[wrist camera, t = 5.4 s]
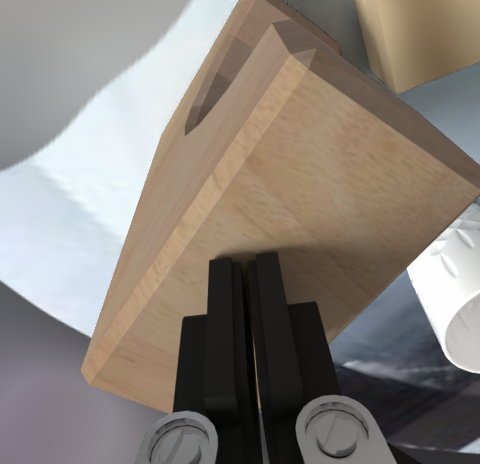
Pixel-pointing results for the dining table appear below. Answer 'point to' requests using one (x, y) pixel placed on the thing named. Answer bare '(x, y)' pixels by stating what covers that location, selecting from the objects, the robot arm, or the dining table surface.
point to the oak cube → (419, 39)
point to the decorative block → (273, 194)
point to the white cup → (453, 288)
